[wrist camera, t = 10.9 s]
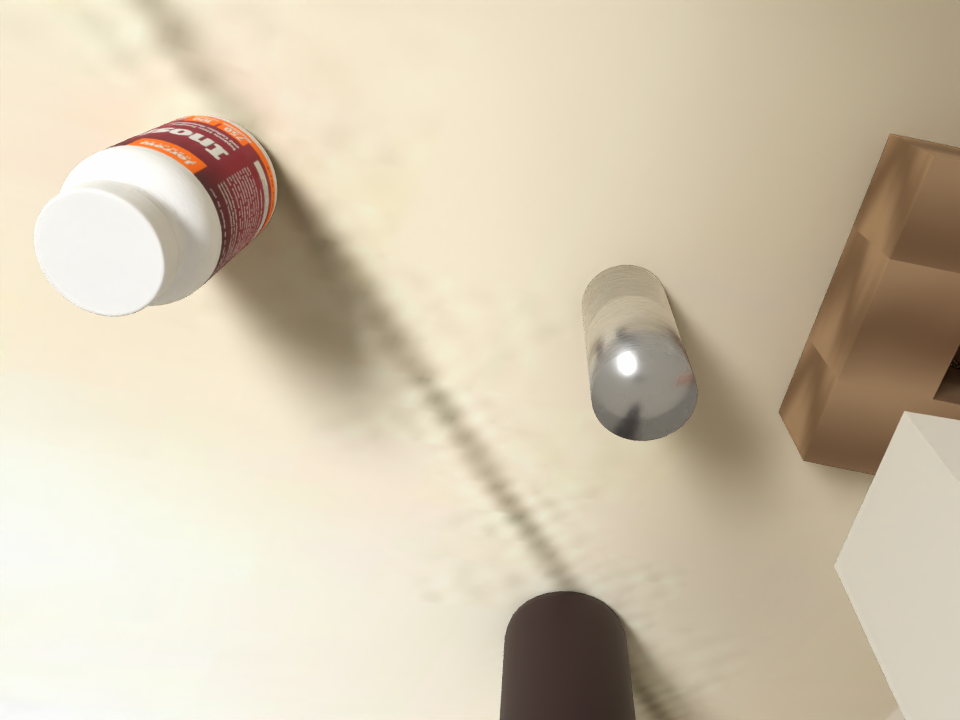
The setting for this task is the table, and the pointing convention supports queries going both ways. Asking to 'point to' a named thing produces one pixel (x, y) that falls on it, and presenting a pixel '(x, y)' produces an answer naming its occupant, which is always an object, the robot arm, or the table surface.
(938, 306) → the hole block
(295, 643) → the table surface
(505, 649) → the wine bottle
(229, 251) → the pill bottle
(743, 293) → the table surface
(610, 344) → the medium pin
